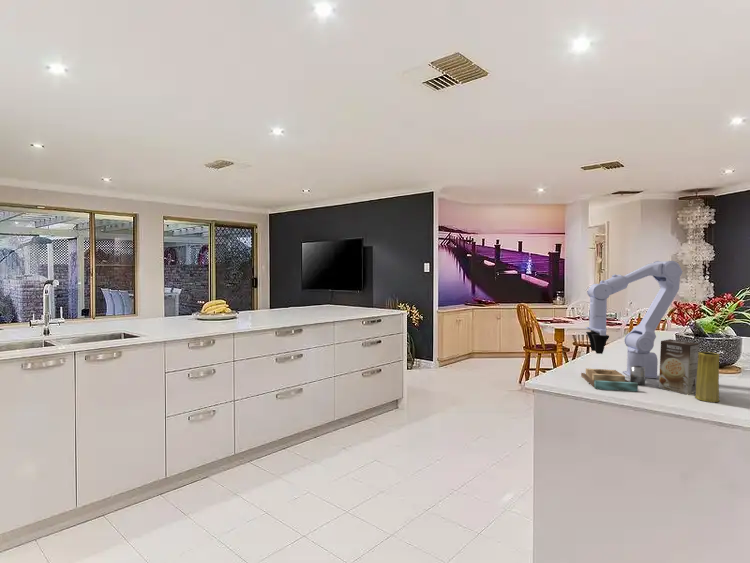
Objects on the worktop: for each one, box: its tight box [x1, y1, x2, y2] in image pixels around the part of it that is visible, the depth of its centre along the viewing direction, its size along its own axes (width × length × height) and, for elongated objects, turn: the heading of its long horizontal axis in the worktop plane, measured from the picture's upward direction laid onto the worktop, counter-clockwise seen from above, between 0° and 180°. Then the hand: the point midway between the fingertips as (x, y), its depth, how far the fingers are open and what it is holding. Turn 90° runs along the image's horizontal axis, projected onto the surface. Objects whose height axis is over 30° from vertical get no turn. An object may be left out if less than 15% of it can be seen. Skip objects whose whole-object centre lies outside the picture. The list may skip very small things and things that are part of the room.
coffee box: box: [658, 339, 700, 395], centre depth 151 cm, size 9×6×16 cm
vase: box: [694, 351, 720, 403], centre depth 140 cm, size 6×6×14 cm
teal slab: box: [580, 372, 639, 392], centre depth 159 cm, size 13×18×2 cm
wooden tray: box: [585, 368, 626, 382], centre depth 162 cm, size 10×10×3 cm
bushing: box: [629, 365, 646, 387], centre depth 159 cm, size 4×4×6 cm
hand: (596, 352), depth 172 cm, fingers open, 5 cm apart
